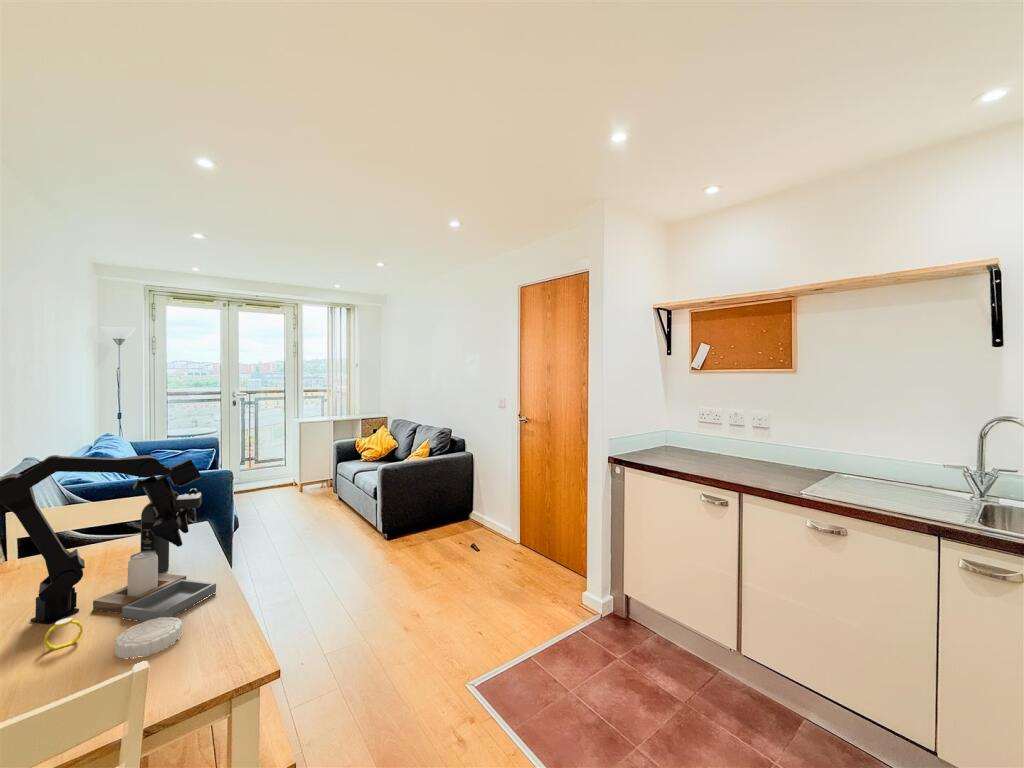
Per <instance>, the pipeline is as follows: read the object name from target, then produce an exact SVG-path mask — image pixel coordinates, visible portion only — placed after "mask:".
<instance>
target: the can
mask: <svg viewBox="0 0 1024 768" xmlns="http://www.w3.org/2000/svg"><path fill="white" fill-rule="evenodd" d="M129 557H130V558H129V560H128V563H127V586H128V588H127V595H128V596H136V597H137V596H139V595H141V594H143V593H145V592H147V591H150V590H152V589H154V588H156V587H158V556H157V555H156V551H143V552H136V553H133V554H132V555H130V556H129Z"/></svg>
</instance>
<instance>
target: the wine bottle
mask: <svg viewBox="0 0 1024 768" xmlns="http://www.w3.org/2000/svg"><path fill="white" fill-rule="evenodd" d="M150 503H151V502H150V501H149V503H148V504H146V505H145V506H144V508H143V509H142V511H141V514H140V552H143V551H156V555H157V556H158V573H164V572H166V571H167V570H169V567H170V542H169V541H167V540H165V539H163V538H161V537H159V536H158V537H157V536H153V535H152V533H151V531H150V530H151V528H152V527H153V525H154V524H155V522H156V521H159V520H161V519H162V518H161V519H158V520H156V518H155V517H156V515H157V514H156V512H155V510H154V508H153V507H152V508H150V506H149V504H150ZM165 570H166V571H165Z"/></svg>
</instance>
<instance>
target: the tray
mask: <svg viewBox="0 0 1024 768" xmlns="http://www.w3.org/2000/svg"><path fill="white" fill-rule="evenodd" d="M215 592H216V593H217V583H216V582H208V581H207V582H206V581H201V580H200V581H199V580H191V579H186V580H183V579H181V580H179V581H177V582H175V583H173V584H171V585H169V586H166V587H164V588H162V589H160V590H158V591H156V592H154V593H152V594H150V595H147V596H145V597H143V598H141V599H139V600H137V601H135V602H133V603H131V604H128V605H126V606H124V607H122V614H121V619H122V618H124V619H123V620H125V619H131V620H130V621H132V620H137V621H136V622H139V621H143V622H145V621H148V620H150V619H156V618H159V617H162V618H163V617H167V618H168V617H173V616H175V615H176V614H178V613H180V612H182V611H184V610H185V609H187V610H189V609H190V608H189V607H191V606H193V605H194V604H196V603H197V602H199V601H201V600H203V599H204V598H206V597H208V596H209V595H211V594H213V593H215ZM196 605H197V604H196ZM193 607H194V606H193ZM188 608H189V609H188ZM191 608H192V607H191ZM184 612H185V611H184ZM182 613H183V612H182ZM180 614H181V613H180ZM178 615H179V614H178ZM175 617H176V616H175ZM143 622H142V623H143Z"/></svg>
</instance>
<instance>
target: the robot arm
mask: <svg viewBox="0 0 1024 768" xmlns="http://www.w3.org/2000/svg"><path fill="white" fill-rule="evenodd" d="M57 472H61V473H62V472H64V473H65V472H69V473H73V472H75V473H117V474H123V475H127V476H131V477H139V478H144V479H139V478H137V479H136V481H135V483H134V484H133V486H132V488H133V490H135V491H137V490H139V489H142V488H143V490H144V493H145V494H146V496H147V499H148V500H149V503H150V502H151V503H150V504H149V503H148V504H149V506H150V508H152V507H153V508H154V510H155V512H156V514H157V515H156V517H155V518H156V520H158V519H161V518H162V519H161V520H159V521H156V522H155V524H154V525H153V527H152V528H151V530H150V531H151V533H152V535H153V536H157V537H158V536H159V537H161V538H163V539H165V540H167V541H169V543H171V544H172V545H174V546H176V547H177V548H179V547H182V546H183V541H182V536H181V533H180V531H181V532H182V533H183V534H187V533H189V525H188V517H187V513H188V512H189V510H190V509H199V508H200V507H201V505H202V499H203V498H202V497H203V493H202V492H201V491H199V490H198V489H197V488H190V490H189V491H188V493H184V494H179V492H178V491H177V490H175V491H174V490H173V488H172V486H174V487H175V486H177V487H179V488H180V487H181V488H182V487H184V486H186V485H188V484H190V483H192V482H195V481H197V480H200V479H202V476H201V473H200V471H199V469H198V468H197V467H196V465H195V464H194V462H193V460H192V459H191V458H189V459H186V460H185V461H183V462H180V463H178V464H175V465H173V466H168V465H167V464H163V463H160V461H159V459H158V458H156V457H155V456H153V455H150V454H149V455H148V454H147V455H146V454H145V455H144V454H143V455H134V456H132V455H131V456H127V457H126V456H125V457H95V456H94V457H89V456H69V455H68V456H67V455H65V456H63V455H58V454H53V455H49V456H47V457H45V458H44V459H43V460H41V461H40V462H38V463H35V464H33V465H30V466H29V467H28V468H26V469H23V470H22V471H19V472H18V473H10V474H6V475H4V476H2V477H1V478H0V504H1V505H2V506H4V507H5V508H6V509H7V510H9V511H10V512H11V513H13V514H14V515H15V516H16V518H17V520H18V521H19V523H21V526H22V527H23V529H24V530H25V532H26V533H27V534H28V536H29V538H30V539H31V541H32V542H33V544H34V545H35V546H36V549H37V550H38V551H39V553H40V554H41V557H43V559H44V561H45V566H46V570H47V574H48V575H47V577H46V578H44V579H43V580H42V581H41V582H39V587H38V588H39V589H38V595H37V597H35V616H34V617H31V618H30V622H33V623H39V624H40V623H41V624H46V625H47V624H48V625H49V624H53V623H56V622H57V621H59V620H62V619H65V618H67V617H69V616H71V615H74V614H76V613H77V612H79V611H80V608H77V597H78V596H77V595H78V594H77V593H78V592H77V591H76V587H75V586H76V585H77V584H79V582H80V581H81V580H82V578H83V576H84V569H85V568H86V564H85V559H84V558H81V556H80V555H79V551H78V548H77V549H74V550H73V551H69V550H68V549H66V547H64V545H63V544H62V542H61V541H60V539H59V537H58V535H57V534H56V533H55V531H54V530H53V529H54V528H52V526H51V525H50V523H49V521H48V520H47V518H46V517H45V515H44V513H43V512H42V511H41V509H40V506H38V504H37V502H36V497H35V493H34V489H33V487H34V486H36V485H38V484H39V483H41V482H42V481H44V480H45V479H47V478H49V477H50V476H52V475H53V474H55V473H57ZM168 478H169V479H170V482H171V484H172V486H171V484H170V482H169V480H168Z"/></svg>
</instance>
